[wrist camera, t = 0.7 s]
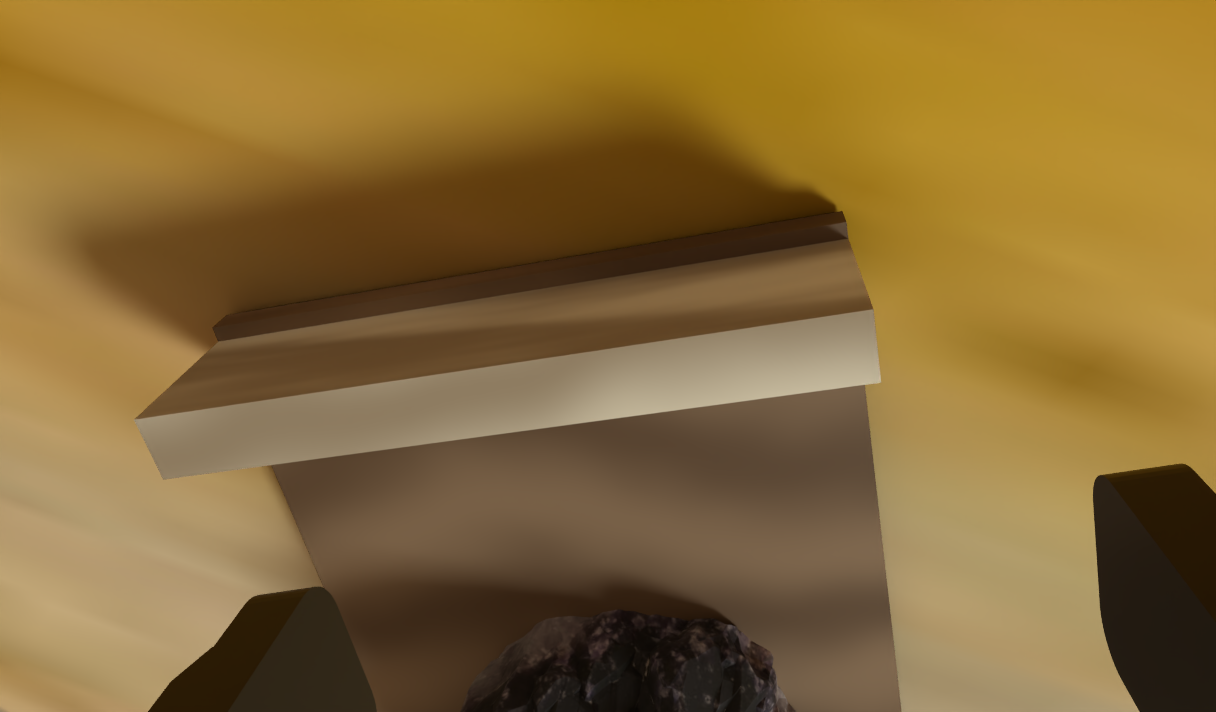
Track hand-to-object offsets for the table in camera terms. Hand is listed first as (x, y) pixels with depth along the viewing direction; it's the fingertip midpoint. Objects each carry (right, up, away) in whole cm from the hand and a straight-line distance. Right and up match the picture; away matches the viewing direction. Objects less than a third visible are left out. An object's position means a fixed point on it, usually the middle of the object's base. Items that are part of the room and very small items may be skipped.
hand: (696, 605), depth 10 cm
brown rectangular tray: (-1, -6, +25) cm, 26 cm away
